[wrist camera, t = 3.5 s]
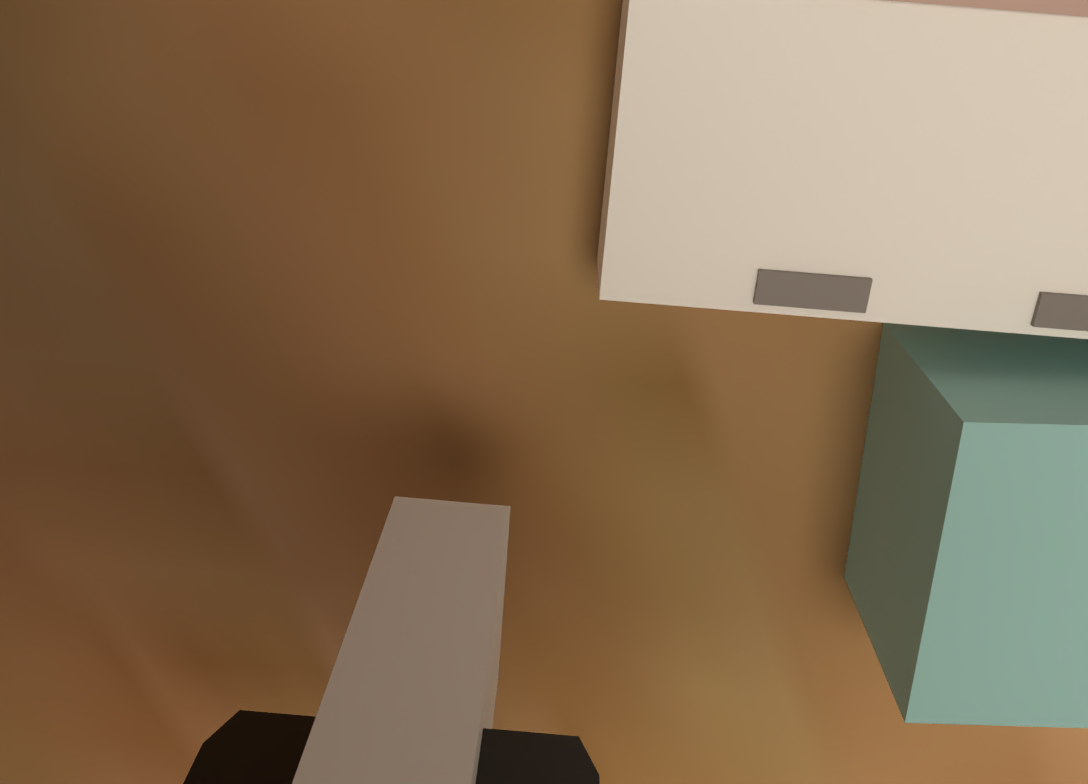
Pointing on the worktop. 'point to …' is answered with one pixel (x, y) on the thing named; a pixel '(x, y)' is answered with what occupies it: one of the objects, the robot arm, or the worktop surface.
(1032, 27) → the slab
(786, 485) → the worktop surface
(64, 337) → the worktop surface
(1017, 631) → the stub
